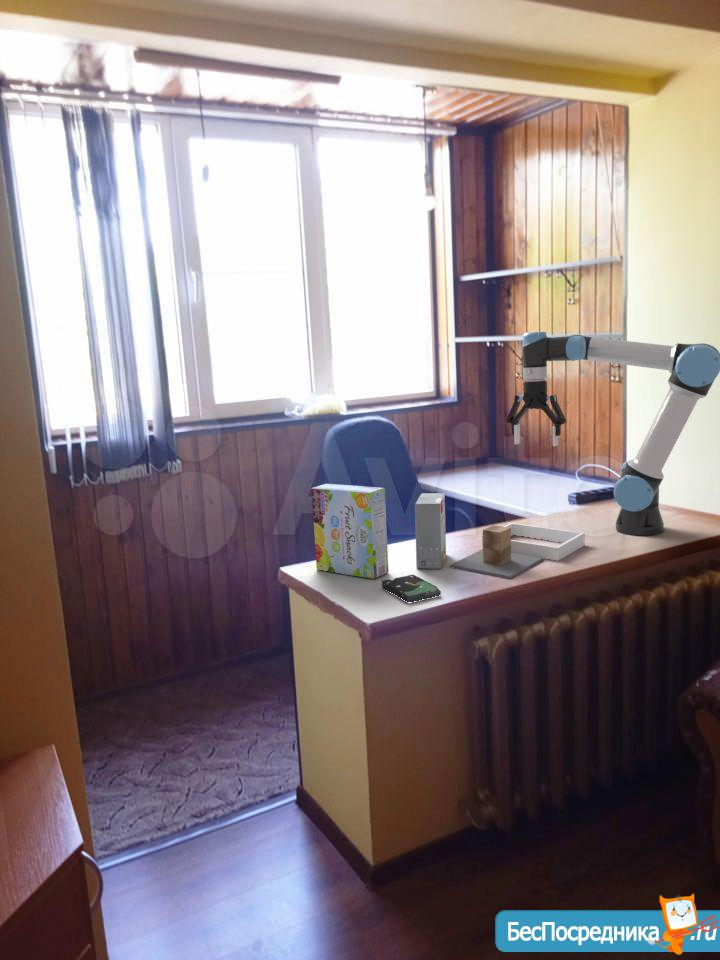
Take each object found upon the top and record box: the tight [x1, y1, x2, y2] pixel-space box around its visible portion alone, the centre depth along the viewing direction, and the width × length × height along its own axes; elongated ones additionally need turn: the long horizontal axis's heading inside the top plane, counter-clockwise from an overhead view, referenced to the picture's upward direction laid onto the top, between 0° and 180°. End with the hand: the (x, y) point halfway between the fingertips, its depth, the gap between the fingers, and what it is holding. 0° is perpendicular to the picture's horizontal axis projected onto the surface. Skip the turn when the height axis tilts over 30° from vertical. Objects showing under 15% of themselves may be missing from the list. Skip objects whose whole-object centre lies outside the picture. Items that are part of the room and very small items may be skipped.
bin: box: [481, 522, 586, 562], centre depth 242 cm, size 26×19×4 cm
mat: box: [449, 548, 544, 580], centre depth 227 cm, size 20×20×1 cm
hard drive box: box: [414, 492, 447, 570], centre depth 231 cm, size 16×8×20 cm, turn 168°
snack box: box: [310, 483, 390, 580], centre depth 225 cm, size 22×9×26 cm, turn 56°
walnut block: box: [482, 524, 512, 565], centre depth 226 cm, size 6×6×10 cm
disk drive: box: [381, 574, 442, 602], centre depth 207 cm, size 10×3×15 cm
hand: (536, 444), depth 251 cm, fingers open, 13 cm apart
